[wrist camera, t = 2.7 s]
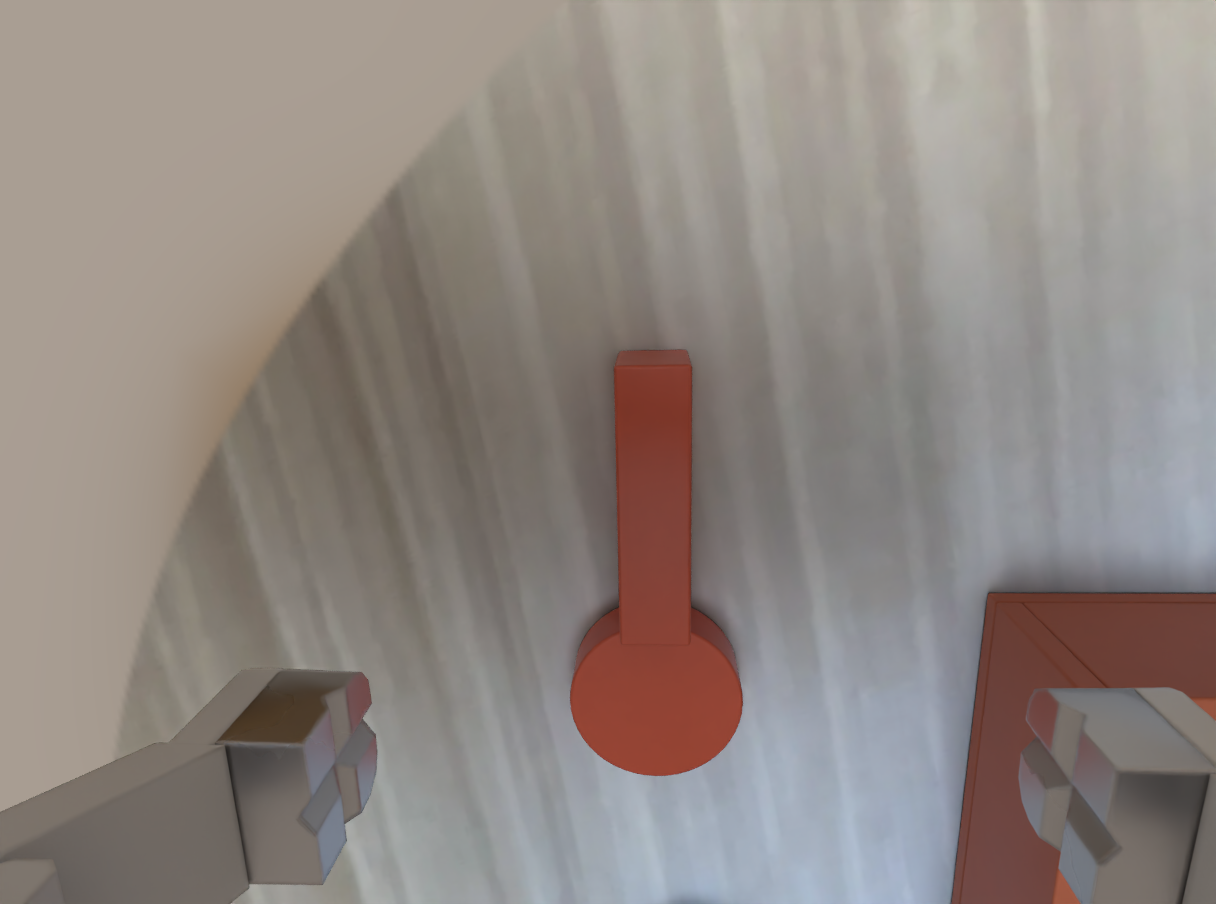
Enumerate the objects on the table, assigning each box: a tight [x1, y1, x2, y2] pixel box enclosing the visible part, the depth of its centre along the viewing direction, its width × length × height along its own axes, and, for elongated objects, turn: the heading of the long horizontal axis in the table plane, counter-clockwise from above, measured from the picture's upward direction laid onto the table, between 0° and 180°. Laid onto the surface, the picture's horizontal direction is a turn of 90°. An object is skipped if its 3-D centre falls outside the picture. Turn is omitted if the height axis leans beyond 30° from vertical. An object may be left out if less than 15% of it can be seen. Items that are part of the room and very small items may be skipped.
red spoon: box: [570, 350, 743, 776], centre depth 18 cm, size 10×4×2 cm, turn 1°
